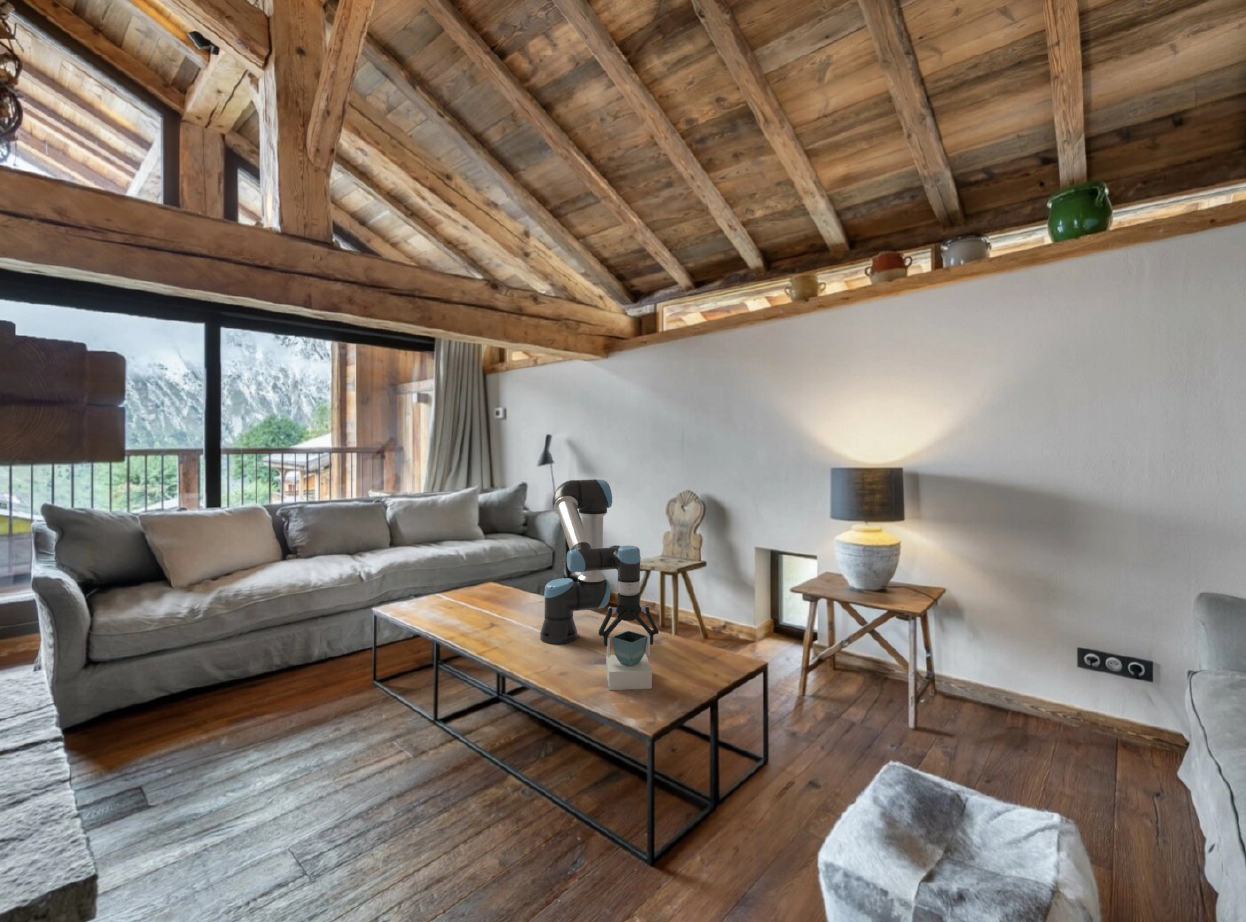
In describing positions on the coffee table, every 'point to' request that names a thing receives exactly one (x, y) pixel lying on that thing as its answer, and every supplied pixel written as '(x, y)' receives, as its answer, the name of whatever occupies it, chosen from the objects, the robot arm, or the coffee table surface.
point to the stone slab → (628, 674)
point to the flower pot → (629, 647)
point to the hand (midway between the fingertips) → (628, 654)
